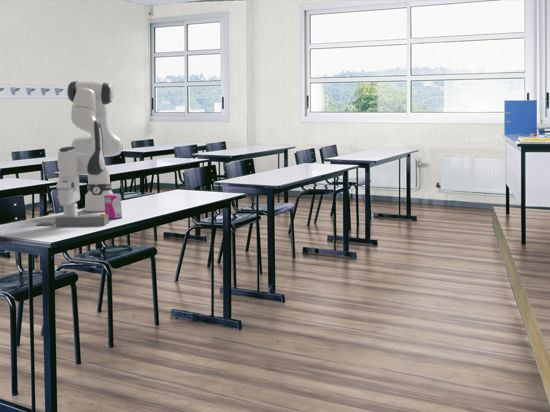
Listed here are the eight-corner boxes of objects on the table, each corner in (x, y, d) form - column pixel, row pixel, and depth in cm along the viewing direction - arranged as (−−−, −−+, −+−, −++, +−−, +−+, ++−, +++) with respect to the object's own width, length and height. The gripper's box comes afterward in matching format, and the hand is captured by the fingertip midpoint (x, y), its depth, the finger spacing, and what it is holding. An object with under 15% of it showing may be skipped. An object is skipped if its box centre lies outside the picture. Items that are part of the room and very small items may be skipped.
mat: (41, 223, 306) (41, 222, 306) (56, 223, 306) (56, 222, 306) (36, 225, 299) (36, 224, 299) (51, 225, 299) (51, 224, 299)
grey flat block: (66, 220, 312) (65, 210, 312) (112, 220, 312) (112, 210, 312) (55, 226, 296) (54, 215, 296) (104, 225, 296) (103, 215, 296)
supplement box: (114, 217, 322) (113, 193, 321) (122, 218, 319) (121, 194, 317) (104, 218, 318) (103, 195, 316) (112, 219, 314) (111, 195, 313)
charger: (67, 218, 302) (66, 203, 301) (78, 218, 302) (77, 203, 301) (64, 220, 298) (63, 204, 297) (75, 220, 298) (74, 204, 297)
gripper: (69, 180, 308) (70, 210, 310) (54, 185, 288) (56, 216, 290) (82, 180, 308) (84, 209, 310) (69, 185, 288) (71, 216, 290)
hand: (70, 213), depth 300 cm, fingers closed on charger, 4 cm apart
